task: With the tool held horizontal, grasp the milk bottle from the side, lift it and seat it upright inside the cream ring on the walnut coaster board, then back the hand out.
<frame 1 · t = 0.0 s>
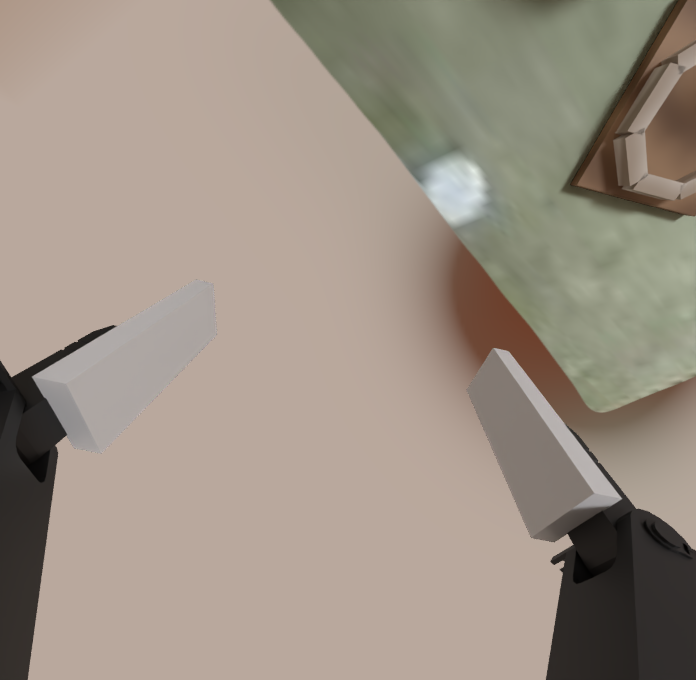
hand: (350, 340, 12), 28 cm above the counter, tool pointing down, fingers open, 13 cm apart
ring stand: (683, 121, 28), on the counter
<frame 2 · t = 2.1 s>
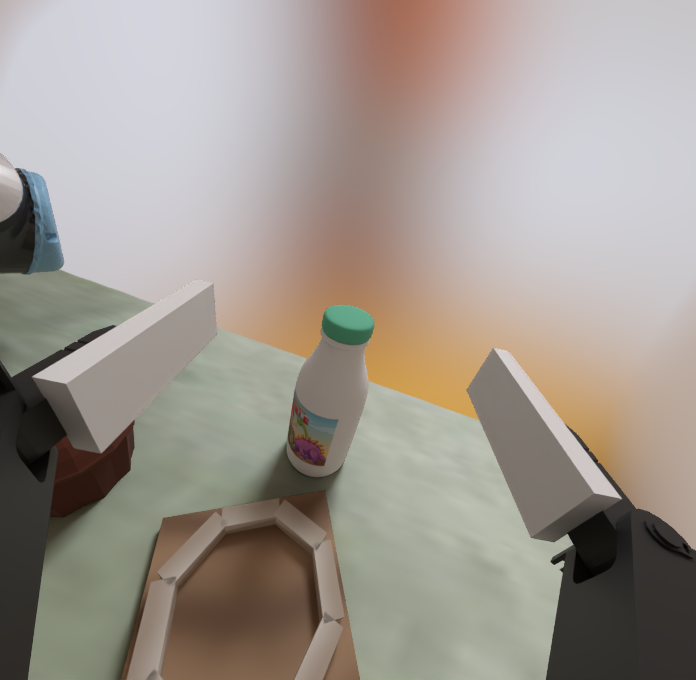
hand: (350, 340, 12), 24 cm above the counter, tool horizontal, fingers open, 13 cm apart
muffin: (78, 471, 26), on the counter
milk bottle: (316, 450, 34), on the counter
ring stand: (249, 609, 21), on the counter
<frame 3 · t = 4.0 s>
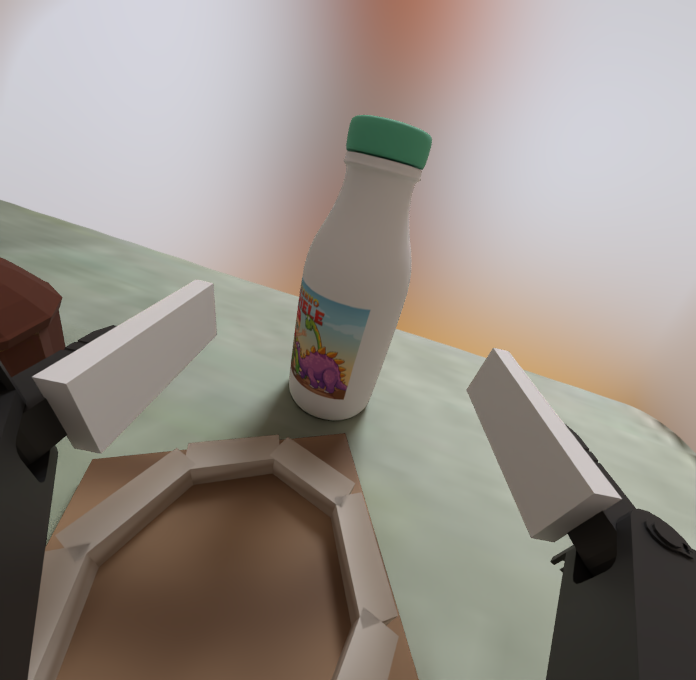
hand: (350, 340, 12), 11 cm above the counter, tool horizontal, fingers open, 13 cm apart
milk bottle: (329, 391, 25), on the counter
ring stand: (227, 604, 12), on the counter
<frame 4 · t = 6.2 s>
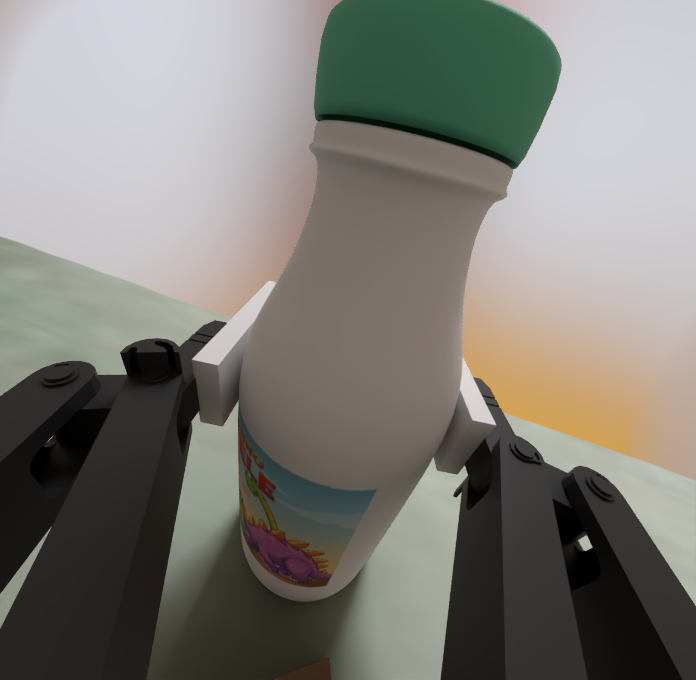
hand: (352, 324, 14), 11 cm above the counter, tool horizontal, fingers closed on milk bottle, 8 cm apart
milk bottle: (309, 518, 16), on the counter, touching gripper
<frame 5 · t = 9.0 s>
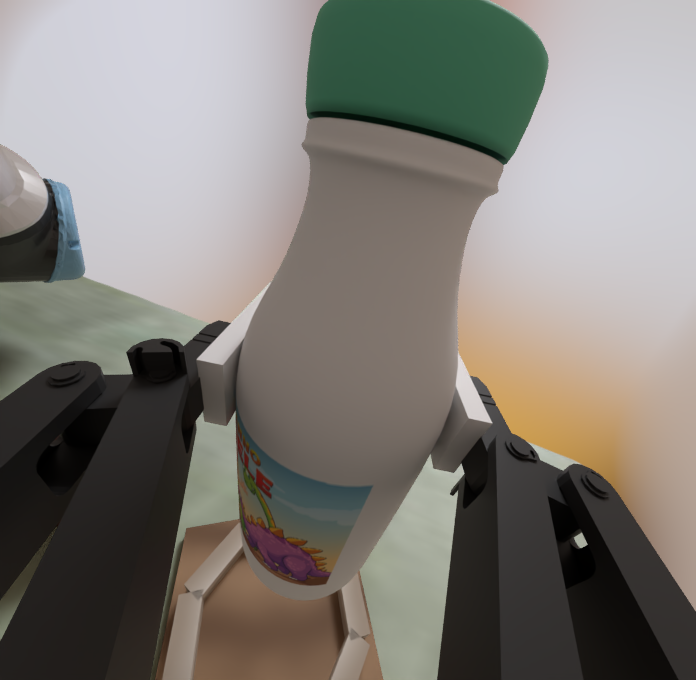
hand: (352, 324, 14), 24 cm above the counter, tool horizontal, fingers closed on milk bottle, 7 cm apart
milk bottle: (309, 517, 16), point 13 cm above the counter, touching gripper
ring stand: (273, 623, 21), on the counter
when the fingers open (14 cm above the counter, at t = 11.5 s): milk bottle drops 2 cm, resting on ring stand.
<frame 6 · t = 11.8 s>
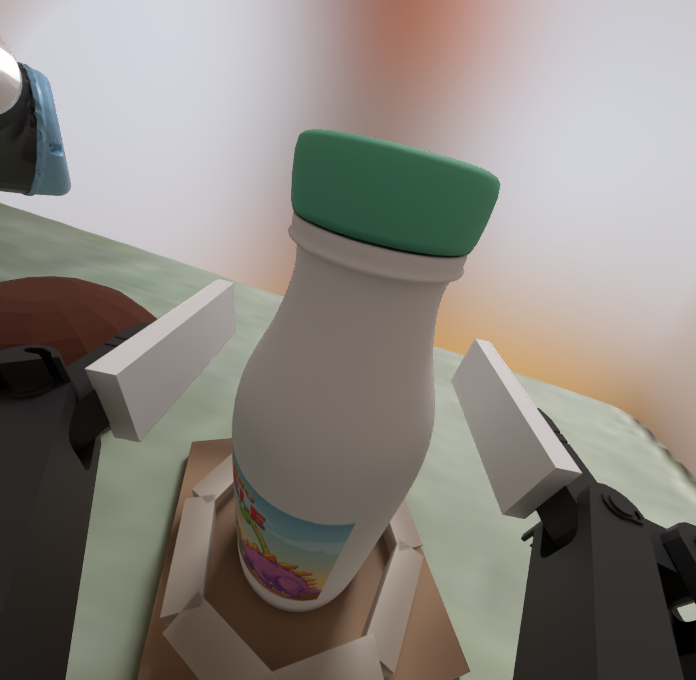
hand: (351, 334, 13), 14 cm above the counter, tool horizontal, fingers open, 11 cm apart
muffin: (90, 397, 23), on the counter
milk bottle: (303, 530, 17), point 1 cm above the counter, touching ring stand
ring stand: (301, 541, 17), on the counter
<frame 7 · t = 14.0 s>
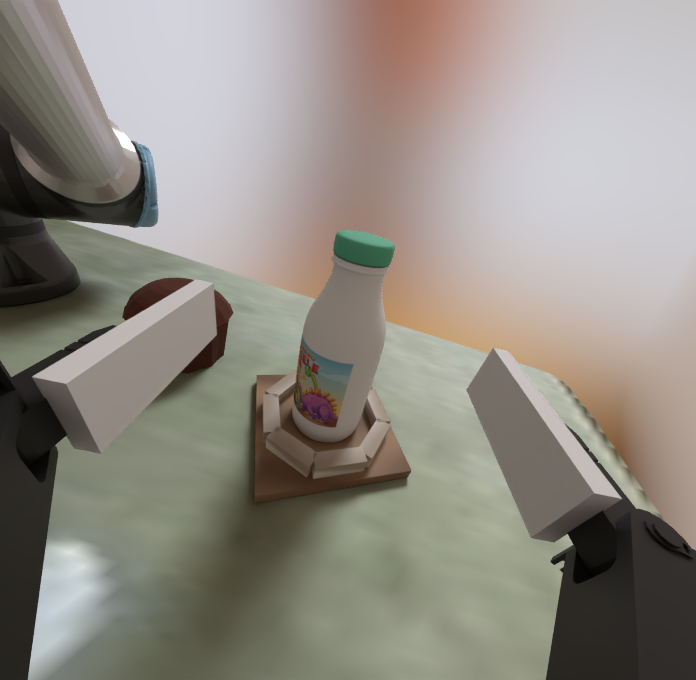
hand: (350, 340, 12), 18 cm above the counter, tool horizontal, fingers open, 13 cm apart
muffin: (188, 353, 36), on the counter
milk bottle: (325, 417, 30), point 1 cm above the counter, touching ring stand
ring stand: (323, 424, 31), on the counter
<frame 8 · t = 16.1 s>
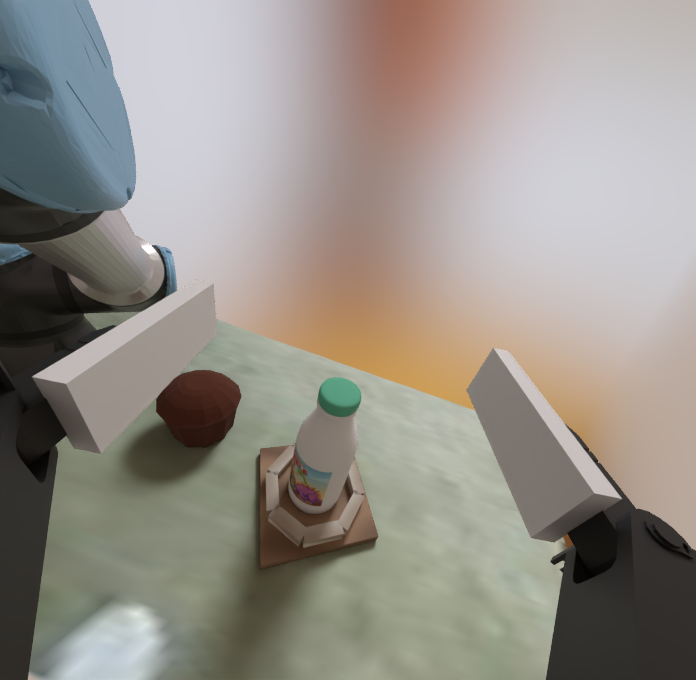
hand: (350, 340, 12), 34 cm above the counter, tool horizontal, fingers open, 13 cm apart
muffin: (204, 425, 45), on the counter
milk bottle: (314, 487, 39), point 1 cm above the counter, touching ring stand
ring stand: (313, 492, 39), on the counter
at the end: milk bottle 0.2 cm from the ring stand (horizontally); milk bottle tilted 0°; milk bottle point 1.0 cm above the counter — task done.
